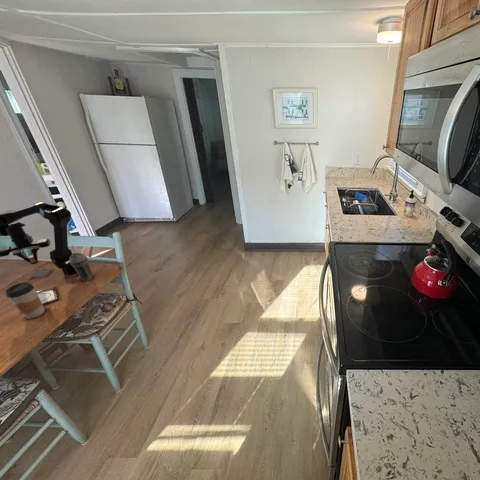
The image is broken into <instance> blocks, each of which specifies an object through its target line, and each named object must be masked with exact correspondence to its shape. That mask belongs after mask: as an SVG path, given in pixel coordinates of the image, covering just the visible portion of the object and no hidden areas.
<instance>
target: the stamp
mask: <svg viewBox="0 0 480 480" xmlns="http://www.w3.org/2000/svg"><path fill="white" fill-rule="evenodd" d="M27 257H28V259H29V261H30V262H29V264H30V265H36V264H38V263H39V262H40V261H39V259H38V260H37V261H36V259H35V258H34V256H33V254H32V255H29V256H27Z"/></svg>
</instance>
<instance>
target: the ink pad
mask: <svg viewBox="0 0 480 480" xmlns="http://www.w3.org/2000/svg"><path fill="white" fill-rule="evenodd" d="M50 271H51V269H45V270H39V271H36V272H35V273H34V274H33V275H32V276H31V278H37V277H43V276H46V275H47V274H48V273H49V272H50Z"/></svg>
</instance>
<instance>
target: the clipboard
mask: <svg viewBox="0 0 480 480" xmlns="http://www.w3.org/2000/svg"><path fill="white" fill-rule="evenodd" d="M36 293H37V295H38V297H39V299H40V301H41V303H42V305H43V306H45V305H47V304H51V303H53V302H56V301H58V300H59V299H58V295H57V292H56V289H55V288H53V289H48V290H44V289H41V290H37V291H36Z"/></svg>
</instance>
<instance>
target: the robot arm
mask: <svg viewBox="0 0 480 480" xmlns="http://www.w3.org/2000/svg"><path fill="white" fill-rule="evenodd" d="M35 214H39V215H40V217H42V218H43V219H46V220H48V222H49V223H50V224H51V225H52V226H53V238H54V239H53V240H54V249H53V250H51V251H49V259H50V260H51V262H52V263H53V264H54V266H56V267H57V268H58V269H60V270H61V271H62V273H63V274H64V276H74V275H76V276H78V277H79V275H78V273H77V272H76V270H75V269H74V267H73V266H72V265H71V264H70V262H69V258H70V256H71V255H72V254H73V252H72V249H70V248H69V241H68V240H69V239H68V224H69V223H70V221H71V217H72V212H71V211H70V210H69V209H68V208H65V207H63V206H60V205H55V204H49V203H47V202H38V203H36V204H33V205H30V206H27V207H24V208H21V209H10V210H7V211H4V212H1V213H0V237H9V238H10V239H11V243H13V245H14V247H12V246H11V245H10V246H4V247H0V258H2V257H7V256H9V255H10V254H11V253H12V256H13V257H14V256H17V257H18V258H21V259H23V260H24V261H26V262H28V263H30V261H29V259H28V257H29V256H28V255H27V254H26V253H25V251H24V250H27V249H31V251H30V252H31V254H32V255H33V256H34V258H35V259H36V261H37V260H38V261H39V258H38V255H39V254H38V251H40V249H44V248H47V247H50V245H51V240H50V239H49V238H42V239H39V240H37V242H34V238H33V236H32V235H28V234H27V233H26V231H25V230H24V227H25V226H26V223H22V222H20V220H22V219H23V218H25V217H26V218H27V217H29V216H31V215H35Z"/></svg>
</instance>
